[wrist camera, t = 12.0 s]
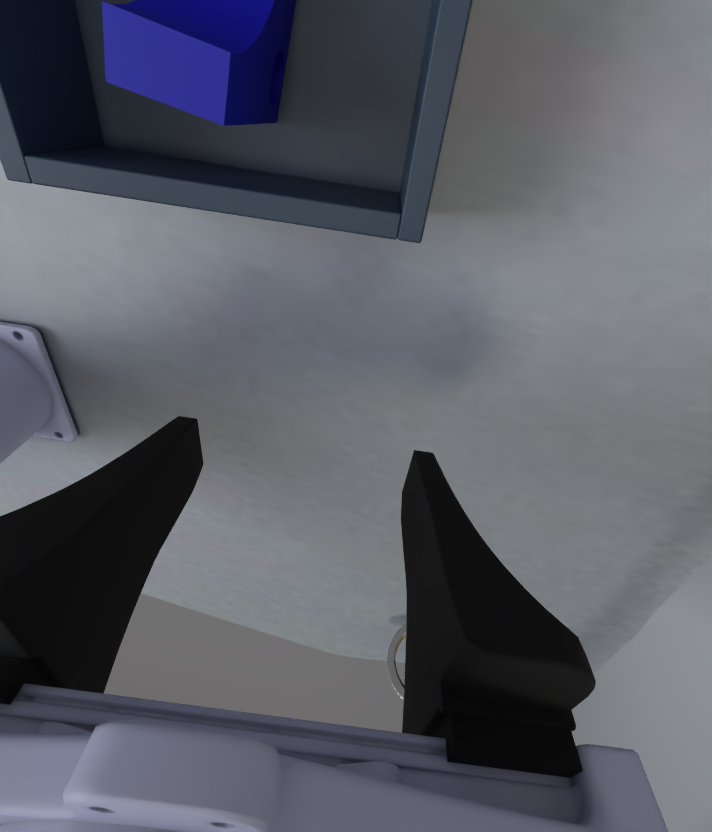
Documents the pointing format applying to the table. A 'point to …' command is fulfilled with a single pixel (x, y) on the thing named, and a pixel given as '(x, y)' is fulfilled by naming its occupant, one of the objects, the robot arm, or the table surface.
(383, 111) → the desk bin
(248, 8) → the blue cradle bracket
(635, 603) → the table surface
